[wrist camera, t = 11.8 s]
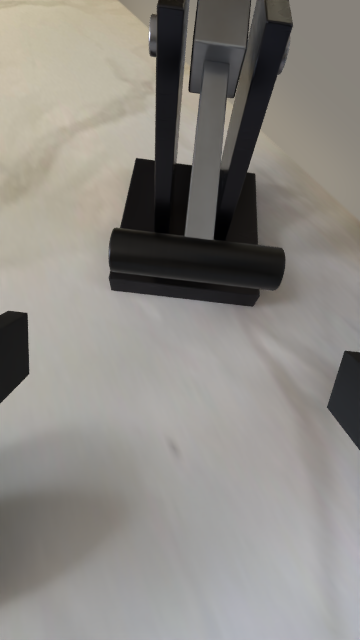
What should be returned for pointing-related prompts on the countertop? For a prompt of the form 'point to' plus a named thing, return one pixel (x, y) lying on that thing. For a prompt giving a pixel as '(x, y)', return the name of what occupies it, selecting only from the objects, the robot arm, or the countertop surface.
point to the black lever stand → (234, 182)
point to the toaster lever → (205, 173)
